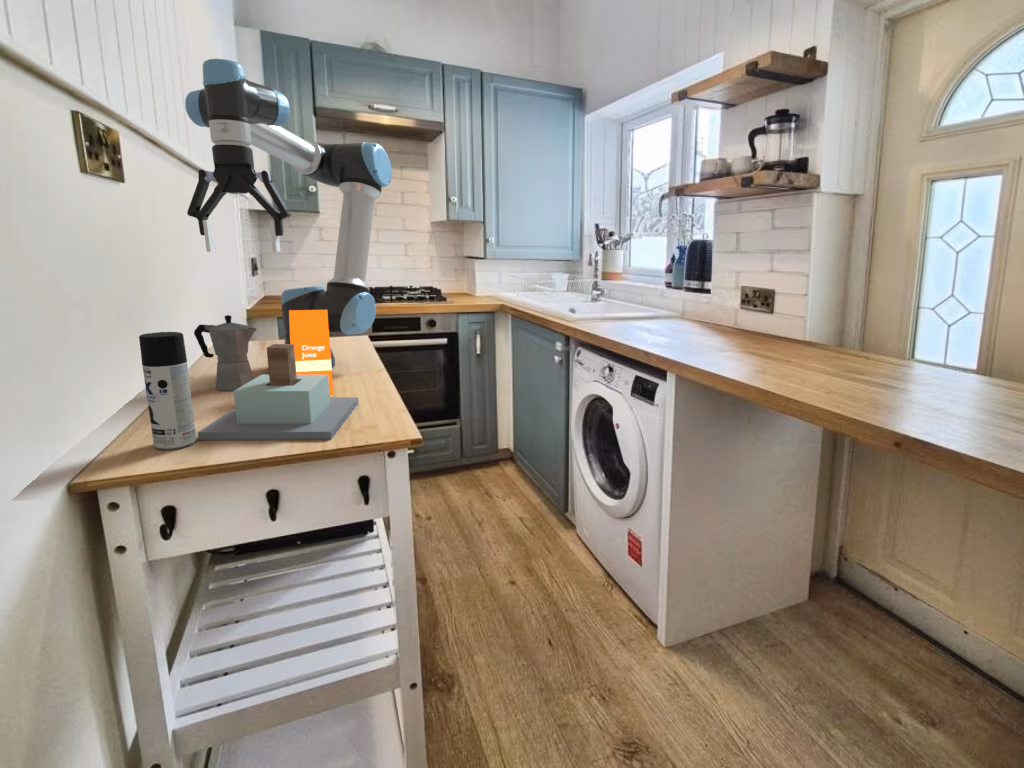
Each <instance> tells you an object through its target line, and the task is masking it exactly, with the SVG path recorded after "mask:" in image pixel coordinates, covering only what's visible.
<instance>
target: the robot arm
mask: <svg viewBox="0 0 1024 768" xmlns="http://www.w3.org/2000/svg"><path fill="white" fill-rule="evenodd" d="M202 80H203V81H202V85H203V88H201V89H197V90H193V91H192V90H191V91H190V92H189V93H187V95H186V96H185V97H186V98H185V100H184V101H185V102H184V104H185V106H184V107H185V111H186V113H187V116H188V118H189V119H190V120H191V121H192V123H193V124H195V125H196V126H198V127H202V128H208V129H209V135H210V141H211V142H212V143H213V144H214V145H212V147H211V151H212V159H213V166H214V169H213V171H209V170H204V169H199V170H198V181H197V185H196V187H195V189H194V192H193V195H192V198H191V200H190V204H189V206H188V209H187V212H186V213H187V216H189V217H193V218H195V219H197V221H198V228H199V229H198V230H199V234H200V235H201V236H204V241H205V248H206V253H210V252H215V253H216V243H215V234H214V226H213V219H212V220H211V219H209V217H210V216H211V214H212V213H213V211H214V210H215V209H216V208H217V206H218V204H219V203H220V202H221V200H222V199H223V197H224V196H226V194H232V195H233V194H234V195H235V194H243V195H244V194H246V195H247V194H248V193H249V194H250V195H251V196H252V198H254V199H255V200H256V202H258V204H260V206H261V207H262V208H263V209H264V210H265V211H266V212H267V213H268V214H269V215H270V217H271V218H272V220H269V226H270V236H271V246H272V252H273V253H281V252H282V251H281V244H280V243H281V242H280V237H282V236H284V227H283V226H284V225H283V221H284V219H288V218H290V217H291V215H292V214H291V212H290V210H289V208H288V206H287V205H286V203H285V201H284V199H283V198H282V196H281V195H280V193H279V191H278V189H277V188H276V186H275V184H274V182H273V178H272V174H271V171H268V170H262V171H260V172H259V171H258V172H257V171H256V170H255V162H254V151H253V149H252V148H251V147H250V146H253V147H256V148H257V149H259V150H261V151H262V152H266V153H267V154H269V155H272V156H273V157H276V158H277V159H279V160H282V161H284V162H285V163H287V164H289V165H291V166H293V169H294V170H295V171H296V172H297V173H299V174H301V175H303V176H304V177H306V178H309V179H312V180H313V181H316V182H318V183H321V184H324V185H326V186H330V187H334V188H338V189H339V191H340V192H341V193H342V194H343V195H342V205H341V210H340V211H341V213H340V221H339V230H338V238H337V245H336V246H337V247H336V254H335V261H334V263H335V264H334V272H333V277H332V278H331V279H330V280H329V281H327V282H326V289H325V287H324V286H323V285H315V286H304V287H298V288H297V287H296V288H295V287H294V288H289V289H288V288H287V289H284V290H283V291H282V293H281V303H280V306H281V313H282V323H283V334H284V344H291V343H290V323H289V310H327V312H328V327H329V334H344V335H348V336H351V335H362V334H365V333H366V332H368V330H369V329H370V328H371V327H372V325H373V323H374V321H375V319H376V314H377V305H376V304H375V303H376V300H375V298H374V296H373V295H372V294H370V286H368V284H367V283H366V278H367V268H368V260H369V252H370V251H369V250H370V243H371V236H372V235H371V233H372V227H373V226H372V225H373V217H374V208H375V202H376V201H377V200H378V199H379V198H381V195H382V188H386V187H387V186H390V184H391V182H392V177H393V176H392V175H393V174H392V171H393V170H392V165H391V162H390V161H391V160H390V158H389V156H388V153H387V152H386V150H385V149H384V147H383V146H382V145H380V144H379V143H377V142H367V141H366V142H365V141H363V142H353V143H351V142H350V143H319V142H317V141H315V140H313V139H311V138H305V139H303V138H302V137H300V136H299V135H297V134H295V133H293V132H291V131H290V130H288V129H287V128H285V127H283V125H285V123H287V122H288V120H289V117H290V114H291V111H290V109H291V108H290V102H289V101H288V98H287V97H286V96H285V95H284V93H282V92H280V91H278V90H276V89H274V88H273V87H271V86H267V85H266V86H265V85H263V84H260V83H257V82H254V81H251V80H249V79H246V75H245V69H244V67H243V66H242V64H240V63H239V62H237V61H234V60H231V59H224V58H210V59H207V60H204V62H203V63H202ZM213 179H214V180H215V181H216V182H217V184H216V186H215V187H214V188H213V192H212V193H211V195H210V196H209V197H208V198H207V200H206V202H205V203H204V201H205V198H206V195H207V192H208V189H209V187H210V183H211V182H213ZM258 179H259V181H260V182H261V183H263V186H264V187H265V189H266V191H267V192H268V195H269V196H270V198H271V199H272V201H273V203H274V204H275V205H276V207H274V206H273V205H272V203H270V201H269V200H268V199H267V198H266V197H265V196H264V195H263V193H261V191H260V190H259V189H258V188H257V186H255V184H256V183H257V180H258ZM276 208H277V209H276ZM330 353H331V365H332V368H333V367H335V366H336V357H335V355H334V353H333V349H332V348H331V346H330ZM334 365H335V366H334Z"/></svg>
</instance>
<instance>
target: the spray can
mask: <svg viewBox="0 0 1024 768" xmlns="http://www.w3.org/2000/svg"><path fill="white" fill-rule="evenodd" d="M138 338H139V348H140V356H141V365H142V371H143V378H144V379H143V380H144V384H145V392H146V399H147V407H148V408H147V409H148V414H149V419H150V420H149V421H150V428H151V434H152V441H153V446H154V447H155V449H157V450H160V451H173V450H180V449H185V448H187V447H190V446H192V445H194V444H195V443H196V441H197V433H196V426H195V425H196V424H195V417H194V416H195V415H194V409H193V408H194V407H193V401H192V400H193V399H192V393H191V392H192V391H191V384H190V376H189V369H188V358H187V351H186V345H185V338H184V334H183V333H182V332H178V331H159V332H150V333H142V334H140V335H139V337H138Z"/></svg>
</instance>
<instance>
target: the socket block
mask: <svg viewBox="0 0 1024 768" xmlns="http://www.w3.org/2000/svg"><path fill="white" fill-rule="evenodd" d="M296 375H297V383H296V384H295V385H294V386H270V379H269V373H267V374H264V373H263V374H259V376H257V377H255V378H254V379H253V380H251V381H250V382H248V383H246V384H245V385H243V386H241V387H240V388H238V389H236V390H235V391H233V396H234V408H232V409H231V410H229V411H227V412H226V413H224V414H223V415H222V416H220V417H218V418H217V419H216V420H214V421H212V422H211V423H210V424H209V425H207V426H205V427H204V428H202V429H201V430H199V431H198V432H197V439H198V440H199V441H252V440H254V441H255V440H256V441H260V440H261V441H262V440H263V441H267V440H268V441H269V440H270V441H271V440H272V441H275V440H276V441H277V440H278V441H280V440H282V441H283V440H284V441H285V440H286V441H287V440H292V441H293V440H295V441H296V440H310V441H311V440H332V439H333V438H334V437H335V435H336V434H337V432H339V430H340V429H341V427H342V426H343V425H344V423H345V422H346V421H347V420H348V418H349V417H350V416H351V415H352V413H353V412H354V411H355V409H356V408H357V407H358V405H359V404H358V403H359V402H360V401H359V397H343V396H341V397H331V394H329V380H328V375H310V374H296ZM355 407H356V408H355ZM352 411H353V412H352ZM349 415H350V416H349Z"/></svg>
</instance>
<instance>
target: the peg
mask: <svg viewBox="0 0 1024 768" xmlns="http://www.w3.org/2000/svg"><path fill="white" fill-rule="evenodd" d="M266 356H267V367H268V374H269V379H270V386H294V385H295V384H296V383H297V375H296V362H295V350H294V344H285V343H273V344H272V345H271V344H270V345H269V346H267V347H266Z"/></svg>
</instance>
